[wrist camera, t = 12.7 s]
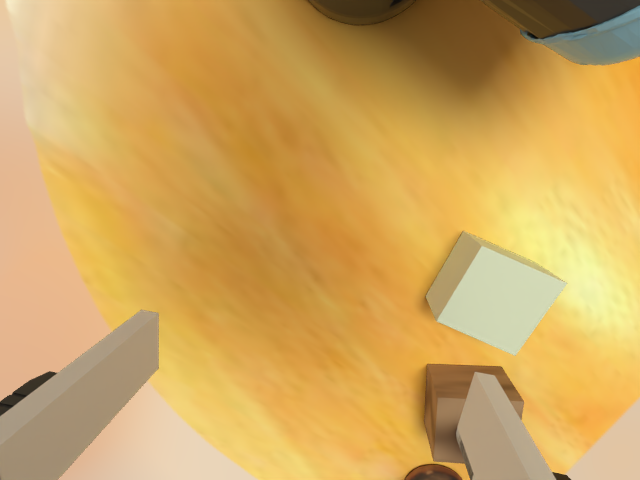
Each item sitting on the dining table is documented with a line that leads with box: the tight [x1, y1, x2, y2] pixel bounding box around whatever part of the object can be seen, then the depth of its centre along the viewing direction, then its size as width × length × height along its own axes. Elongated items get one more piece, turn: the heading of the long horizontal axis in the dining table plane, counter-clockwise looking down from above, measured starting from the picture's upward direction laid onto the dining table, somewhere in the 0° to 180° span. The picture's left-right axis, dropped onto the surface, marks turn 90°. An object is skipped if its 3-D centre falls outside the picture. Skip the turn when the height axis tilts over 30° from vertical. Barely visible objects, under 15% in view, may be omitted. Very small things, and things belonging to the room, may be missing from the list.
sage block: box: [425, 231, 567, 356], centre depth 37 cm, size 9×9×6 cm
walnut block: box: [424, 364, 524, 463], centre depth 41 cm, size 9×9×6 cm
